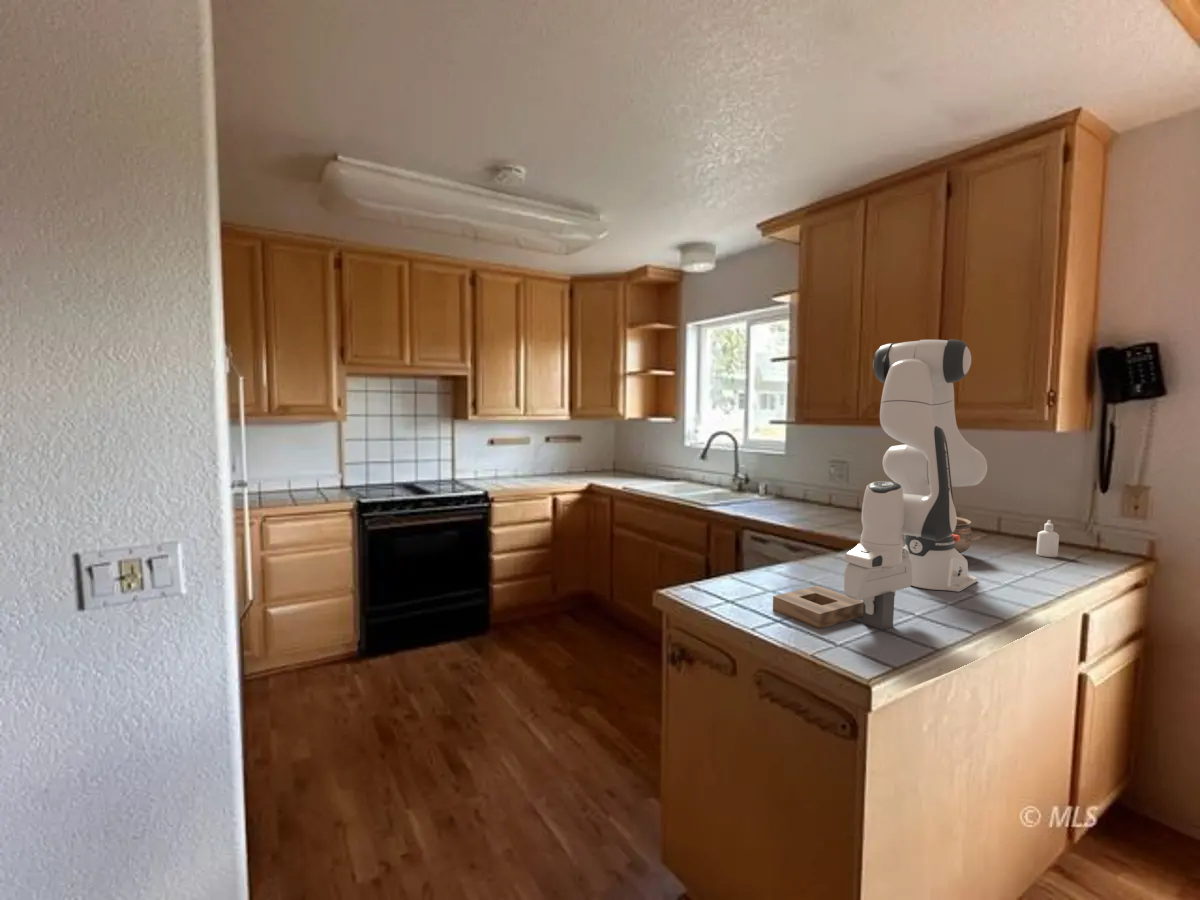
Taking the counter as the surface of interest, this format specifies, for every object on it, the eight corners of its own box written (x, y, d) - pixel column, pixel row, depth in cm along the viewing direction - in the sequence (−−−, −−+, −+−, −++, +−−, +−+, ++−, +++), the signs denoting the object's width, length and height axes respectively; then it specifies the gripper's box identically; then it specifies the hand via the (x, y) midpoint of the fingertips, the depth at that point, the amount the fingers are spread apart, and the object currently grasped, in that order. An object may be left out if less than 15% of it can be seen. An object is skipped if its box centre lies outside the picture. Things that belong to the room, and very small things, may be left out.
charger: (873, 619, 143) (875, 585, 142) (892, 626, 139) (894, 591, 138) (862, 622, 141) (864, 588, 140) (881, 629, 137) (883, 594, 136)
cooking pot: (993, 560, 195) (995, 522, 193) (963, 569, 184) (966, 530, 183) (916, 543, 215) (917, 510, 214) (886, 551, 205) (887, 515, 204)
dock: (817, 598, 157) (817, 585, 157) (864, 616, 145) (864, 601, 145) (772, 609, 149) (773, 596, 149) (818, 628, 137) (819, 613, 137)
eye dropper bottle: (1037, 553, 203) (1040, 517, 202) (1058, 556, 199) (1061, 520, 198) (1035, 555, 200) (1037, 519, 199) (1056, 558, 196) (1058, 522, 195)
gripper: (896, 544, 146) (893, 599, 148) (840, 555, 136) (837, 615, 137) (921, 550, 141) (918, 607, 142) (864, 562, 131) (861, 624, 132)
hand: (878, 611), depth 140 cm, fingers closed on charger, 4 cm apart
